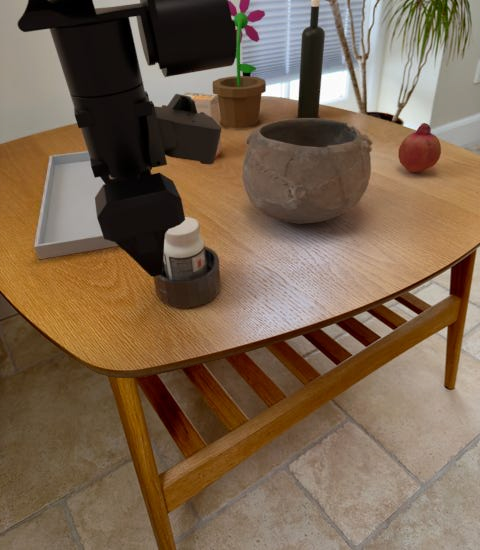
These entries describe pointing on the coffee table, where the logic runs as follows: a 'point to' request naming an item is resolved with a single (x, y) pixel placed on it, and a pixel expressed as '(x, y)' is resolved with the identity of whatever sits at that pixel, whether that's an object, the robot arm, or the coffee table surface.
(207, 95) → the supplement box
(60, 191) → the serving dish
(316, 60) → the wine bottle
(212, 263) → the charcoal bowl
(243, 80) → the flowerpot
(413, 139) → the fruit
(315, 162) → the clay pot
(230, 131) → the coffee table surface
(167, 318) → the coffee table surface
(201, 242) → the pill bottle
